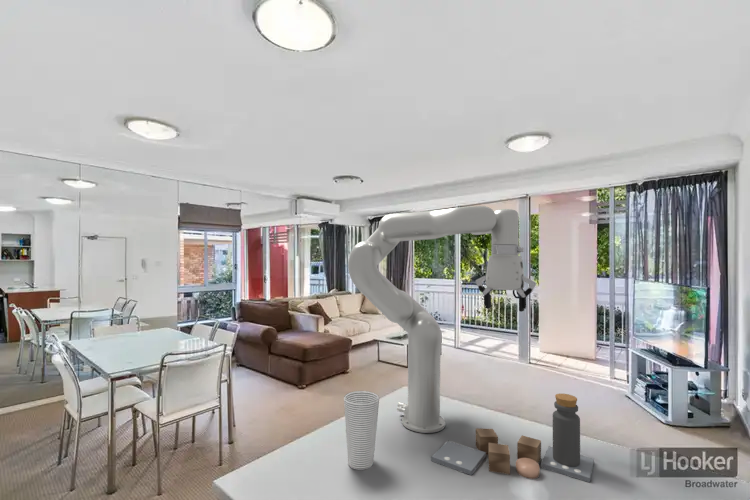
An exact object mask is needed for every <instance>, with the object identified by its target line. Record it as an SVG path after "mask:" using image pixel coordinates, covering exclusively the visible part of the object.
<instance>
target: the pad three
mask: <svg viewBox="0 0 750 500" xmlns="http://www.w3.org/2000/svg"><path fill="white" fill-rule="evenodd" d="M594 463H595V458H594V457H590V456H586V455H582V454H580V464H579V465H578V466H575V467H571V466H565V465H562V464H560V463H558V462H556V461H555V460H554V459H553V446H550V445H549V446H548V447H547V449H546V451H545V453H544V455H543V457H542V458H541V461H540V468H542V469H545V470H547V471H552V472H554V473H558V474H561V475H565V476H568V477H571V478H574V479H577V480H580V481H584V482H588V483H591V479H592V474H593V469H594Z"/></svg>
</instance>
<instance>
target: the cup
mask: <svg viewBox="0 0 750 500" xmlns="http://www.w3.org/2000/svg"><path fill="white" fill-rule="evenodd" d="M343 404H344V406H343V407H344V419H345V421H344V422H345V433H346V435H345V437H346V438H345V439H346V448H347V450H346V452H347V453H346V454H347V464H348V466H349V467H350V468H351V469H354V470H359V471H362V470H363V471H365V470H367V469H370V468H371V467H372V466H373V465H374V460H375V450H376V448H375V447H376V438H377V427H378V416H379V408H380V407H379V406H380V396H379V395H378V394H377V393H375V392H372V391H368V390H354V391H350V392H348V393H346V394H345V395H344V396H343Z"/></svg>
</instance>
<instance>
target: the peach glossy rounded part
mask: <svg viewBox="0 0 750 500" xmlns="http://www.w3.org/2000/svg"><path fill="white" fill-rule="evenodd" d="M539 464H540V463H539ZM539 464H538V463H537V462H536V461H534V460H532V459H530V458H520V459H518V460H516V461H515V471H516V473H517V474H518V475H519V476H520V477H522V478H525V479H530V480H534V479H538V478H539V477H540V472H541V470H540V465H539Z"/></svg>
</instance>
